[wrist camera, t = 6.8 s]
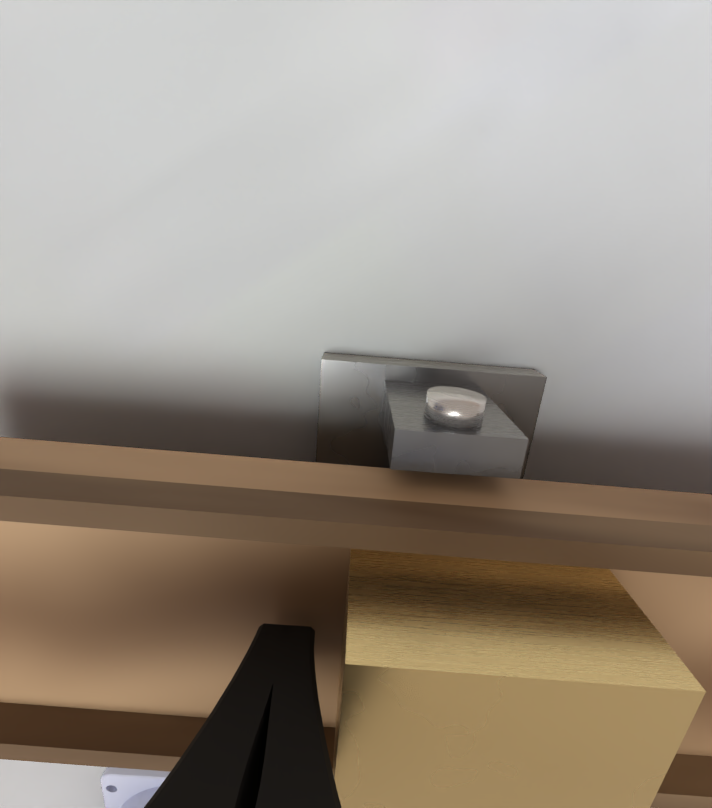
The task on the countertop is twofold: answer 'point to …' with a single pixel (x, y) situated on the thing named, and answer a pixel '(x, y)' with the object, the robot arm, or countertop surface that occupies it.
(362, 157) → the countertop surface
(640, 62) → the countertop surface
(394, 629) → the block
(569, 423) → the countertop surface
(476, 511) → the beam
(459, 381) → the fulcrum
